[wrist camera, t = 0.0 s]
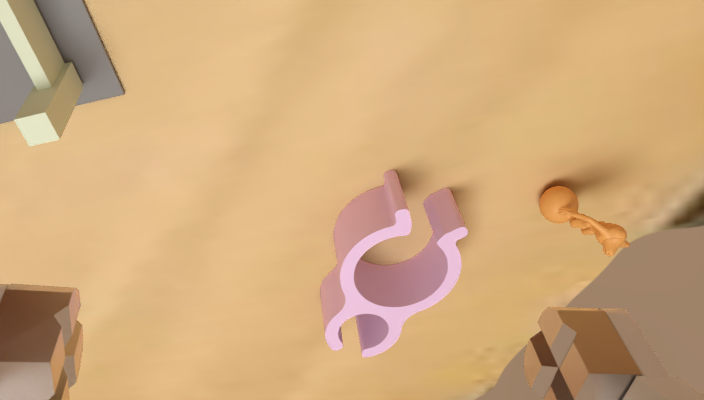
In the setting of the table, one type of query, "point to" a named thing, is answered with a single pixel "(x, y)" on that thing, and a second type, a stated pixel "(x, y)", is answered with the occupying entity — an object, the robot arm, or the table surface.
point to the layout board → (73, 45)
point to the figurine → (580, 218)
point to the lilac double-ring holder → (388, 266)
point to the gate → (40, 73)
